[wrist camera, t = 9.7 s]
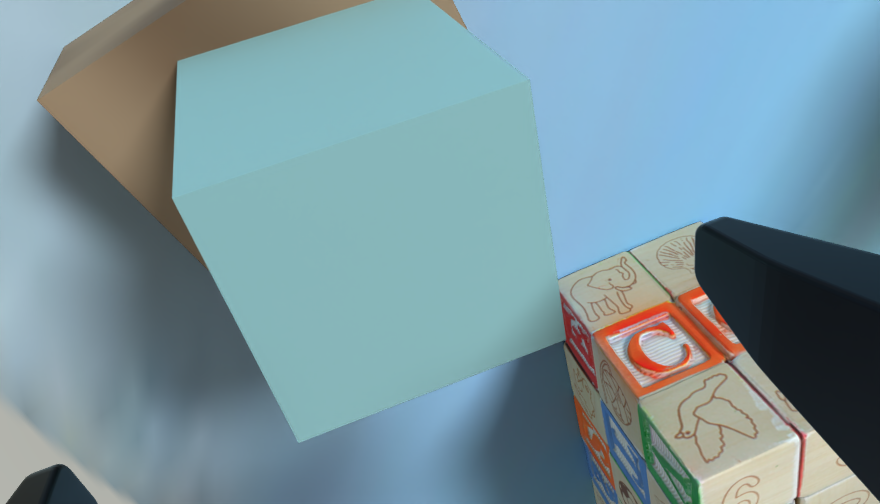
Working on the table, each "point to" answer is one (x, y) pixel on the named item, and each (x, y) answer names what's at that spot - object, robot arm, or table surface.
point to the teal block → (368, 206)
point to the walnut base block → (156, 83)
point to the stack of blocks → (682, 393)
